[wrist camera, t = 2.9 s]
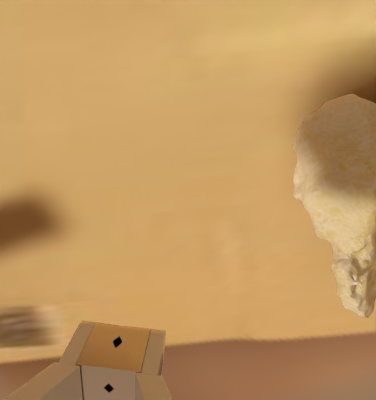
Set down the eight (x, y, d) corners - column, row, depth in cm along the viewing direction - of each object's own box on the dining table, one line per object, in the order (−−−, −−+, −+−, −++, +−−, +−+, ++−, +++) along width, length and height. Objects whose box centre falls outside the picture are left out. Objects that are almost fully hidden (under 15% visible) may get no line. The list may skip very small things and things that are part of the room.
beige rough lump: (314, 51, 22) (216, 187, 17) (432, 21, 17) (337, 209, 12) (348, 178, 31) (288, 292, 26) (432, 186, 26) (377, 332, 21)
